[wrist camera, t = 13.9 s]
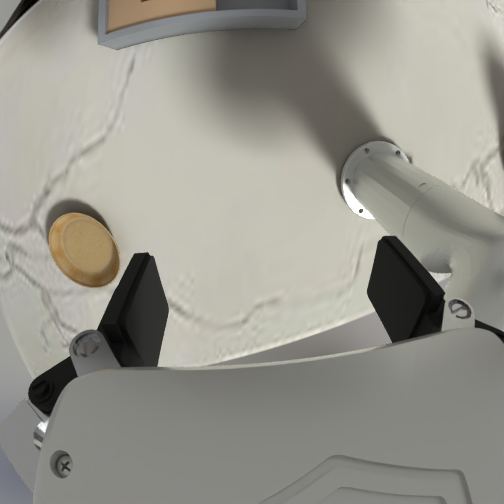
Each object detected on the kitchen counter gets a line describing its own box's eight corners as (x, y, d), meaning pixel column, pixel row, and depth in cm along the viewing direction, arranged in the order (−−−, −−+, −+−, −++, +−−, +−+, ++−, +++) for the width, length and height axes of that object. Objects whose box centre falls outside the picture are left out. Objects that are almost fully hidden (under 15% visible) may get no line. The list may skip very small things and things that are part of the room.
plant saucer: (43, 232, 39) (35, 239, 37) (89, 189, 36) (82, 195, 34) (89, 289, 46) (84, 298, 44) (141, 260, 44) (137, 269, 41)
